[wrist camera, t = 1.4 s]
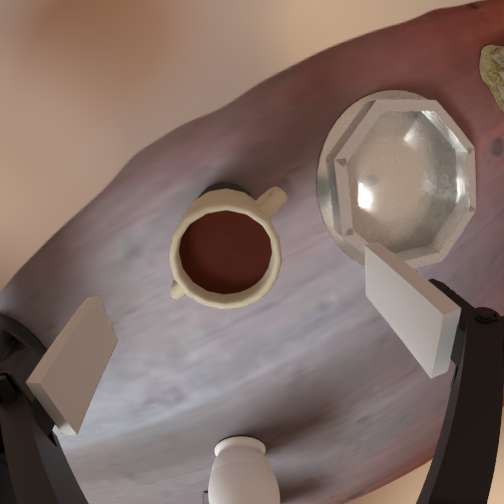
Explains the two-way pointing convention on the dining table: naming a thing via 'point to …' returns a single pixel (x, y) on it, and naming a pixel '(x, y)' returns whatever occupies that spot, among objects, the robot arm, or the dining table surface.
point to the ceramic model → (493, 71)
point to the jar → (242, 474)
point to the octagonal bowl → (396, 178)
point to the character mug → (227, 247)
